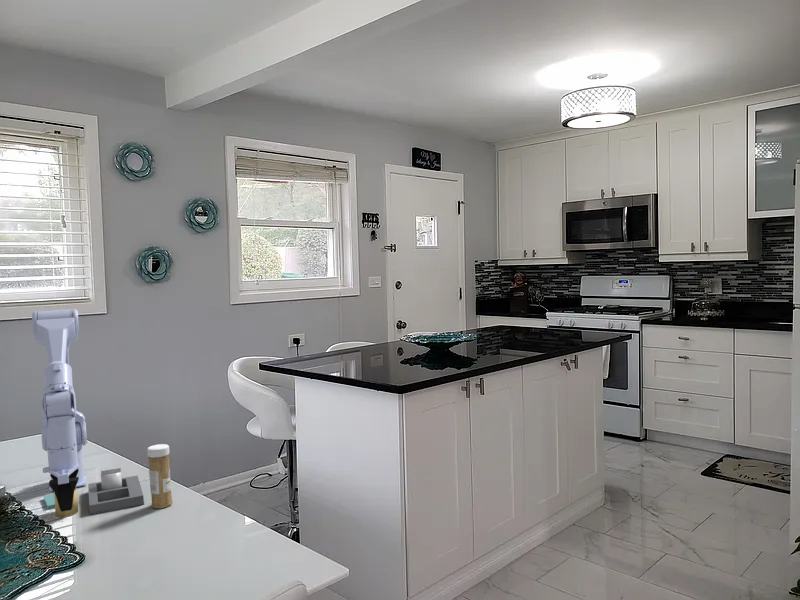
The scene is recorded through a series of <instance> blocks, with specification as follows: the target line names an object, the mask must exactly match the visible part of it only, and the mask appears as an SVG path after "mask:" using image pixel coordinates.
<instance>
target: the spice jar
mask: <svg viewBox="0 0 800 600" xmlns="http://www.w3.org/2000/svg"><path fill="white" fill-rule="evenodd" d="M146 450H147V453H146V454H147V458H148V464H149V465H148V468H149V470H148V474H149V487H150V494H151V496H150V497H151V503H150V504H151V508H153V509H165V508H167V507H169V506H171V505H172V504H173V497H172V482H171V481H172V480H171V479H172V478H171V469H170V457H169V456H170V445H168V444H165V443H160V444H154V445H151V446H148V447H147V449H146Z"/></svg>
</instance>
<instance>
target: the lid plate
mask: <svg viewBox="0 0 800 600" xmlns="http://www.w3.org/2000/svg"><path fill="white" fill-rule="evenodd" d="M43 502H44V503H45V506H46V508H47V510H52V509H55V499H54V493H52V494H46V495H43Z"/></svg>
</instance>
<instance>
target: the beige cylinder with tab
mask: <svg viewBox="0 0 800 600" xmlns="http://www.w3.org/2000/svg"><path fill="white" fill-rule="evenodd" d="M53 494H54V499H55V508H54V510H55V511H54V512H55V516H56V517H59V518H64V517H69V516H73V515H75V514H77V513H78V512H79V506H78V505H79V504H78V489H77V487H75V490H74V496H73V506H72V510H68V511H63V512H61V510H60V508H59V505H58V501H57V498H56V495H55V493H53Z"/></svg>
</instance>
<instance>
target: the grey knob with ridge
mask: <svg viewBox="0 0 800 600" xmlns="http://www.w3.org/2000/svg"><path fill="white" fill-rule="evenodd" d="M122 478H123V477H122V468H121V466H114V467H108V468H104V469H100V482H101V485H102V491H106V490H112V489H117V488H123V487H122Z"/></svg>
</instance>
